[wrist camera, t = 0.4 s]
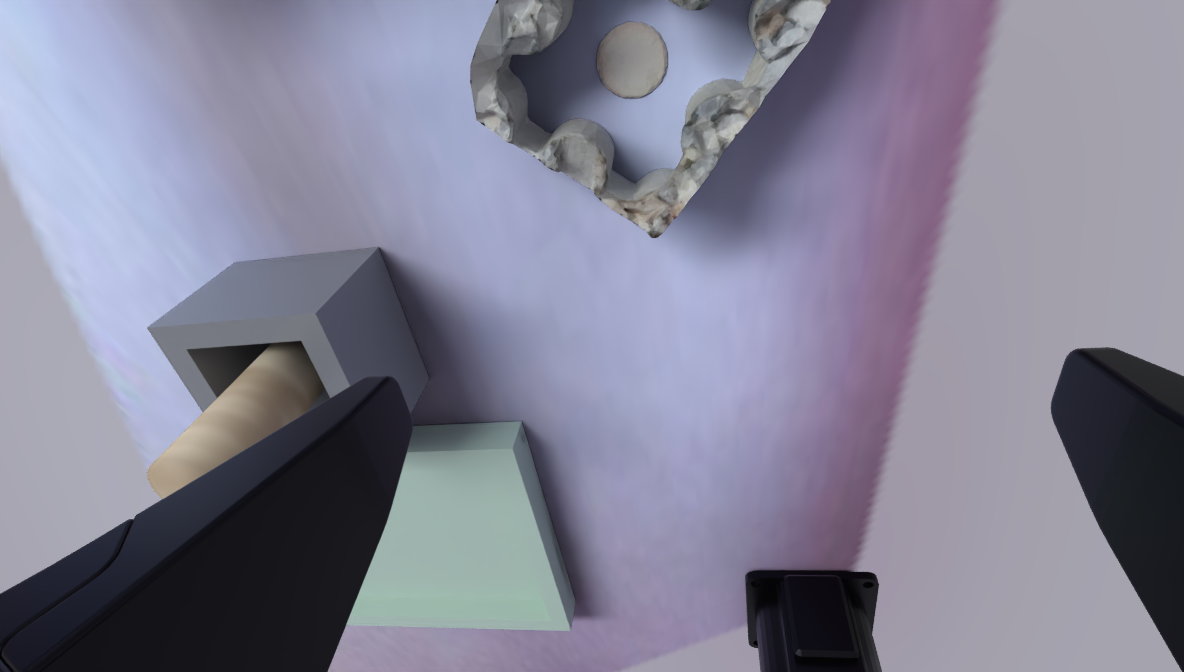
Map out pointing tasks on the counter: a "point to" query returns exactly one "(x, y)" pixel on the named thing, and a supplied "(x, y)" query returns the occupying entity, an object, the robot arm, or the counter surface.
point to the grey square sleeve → (294, 324)
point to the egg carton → (631, 69)
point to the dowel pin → (241, 416)
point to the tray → (468, 538)
